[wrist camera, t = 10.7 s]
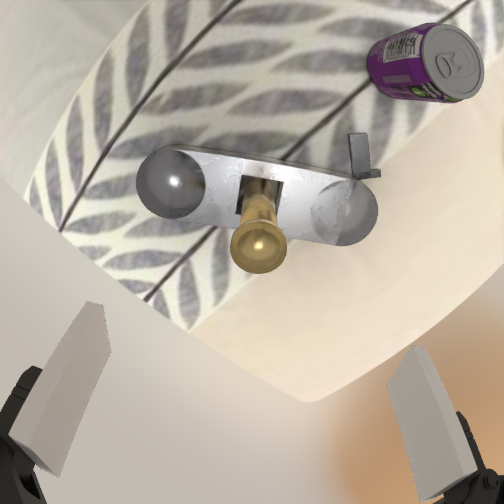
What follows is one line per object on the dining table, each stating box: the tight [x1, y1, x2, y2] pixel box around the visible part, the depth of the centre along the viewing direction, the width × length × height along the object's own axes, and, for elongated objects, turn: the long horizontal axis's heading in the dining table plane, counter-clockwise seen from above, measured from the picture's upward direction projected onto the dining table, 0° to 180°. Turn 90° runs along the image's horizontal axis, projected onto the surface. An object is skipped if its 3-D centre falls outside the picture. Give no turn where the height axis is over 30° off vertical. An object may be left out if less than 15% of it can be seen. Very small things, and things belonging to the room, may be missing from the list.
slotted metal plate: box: [136, 145, 378, 246], centre depth 32 cm, size 7×26×3 cm, turn 81°
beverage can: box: [368, 23, 484, 103], centre depth 21 cm, size 7×7×12 cm
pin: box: [230, 177, 287, 274], centre depth 27 cm, size 4×4×14 cm
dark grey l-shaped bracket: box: [348, 133, 381, 180], centre depth 31 cm, size 5×3×1 cm, turn 11°
